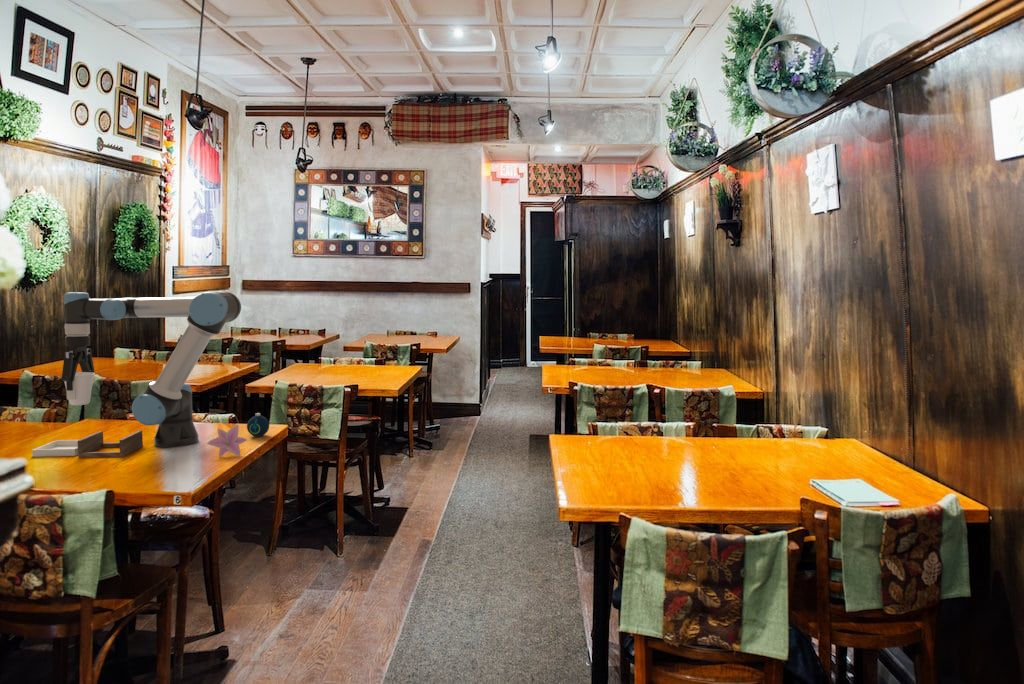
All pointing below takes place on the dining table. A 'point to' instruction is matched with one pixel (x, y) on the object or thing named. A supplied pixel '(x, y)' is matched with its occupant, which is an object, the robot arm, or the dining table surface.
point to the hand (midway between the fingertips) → (79, 396)
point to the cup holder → (108, 445)
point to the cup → (82, 388)
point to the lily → (228, 441)
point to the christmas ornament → (258, 425)
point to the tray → (57, 448)
